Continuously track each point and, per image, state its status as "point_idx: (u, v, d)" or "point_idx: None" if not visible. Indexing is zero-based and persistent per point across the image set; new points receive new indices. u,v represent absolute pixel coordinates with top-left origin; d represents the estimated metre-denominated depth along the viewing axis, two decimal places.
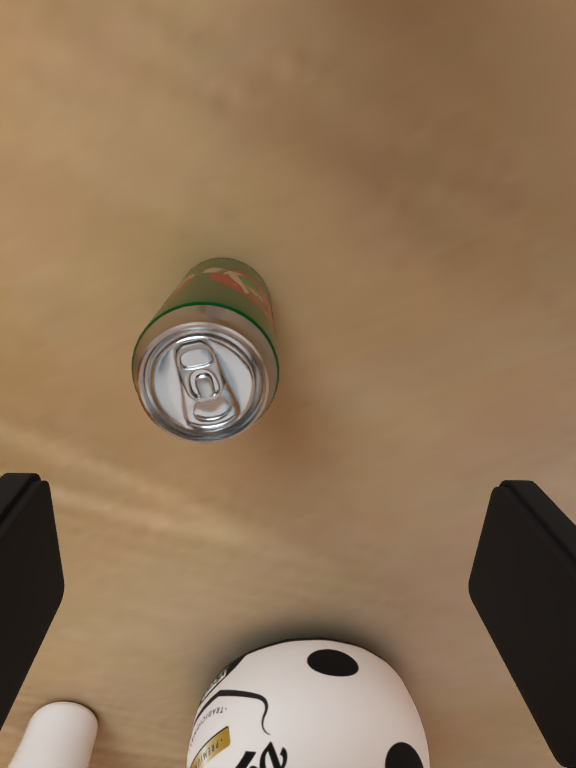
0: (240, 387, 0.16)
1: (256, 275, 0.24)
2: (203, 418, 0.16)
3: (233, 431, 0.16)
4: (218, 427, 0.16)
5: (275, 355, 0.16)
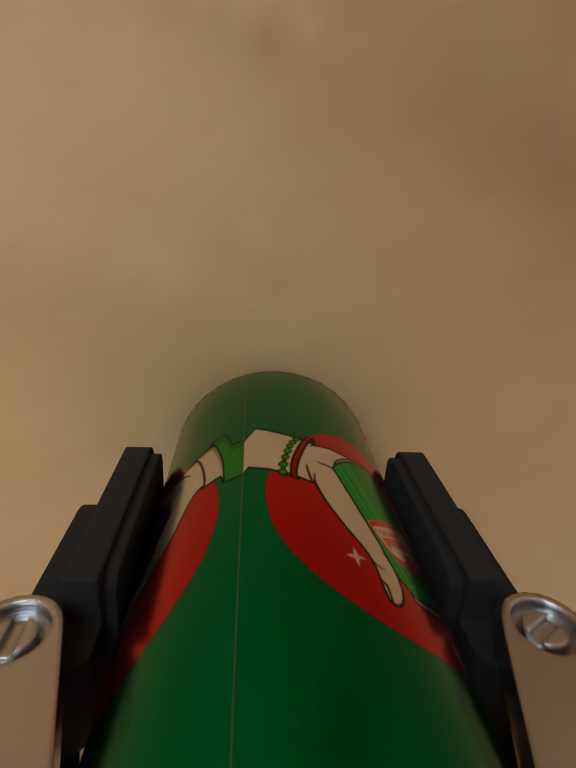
0: None
1: (345, 412, 0.12)
2: None
3: None
4: None
5: None
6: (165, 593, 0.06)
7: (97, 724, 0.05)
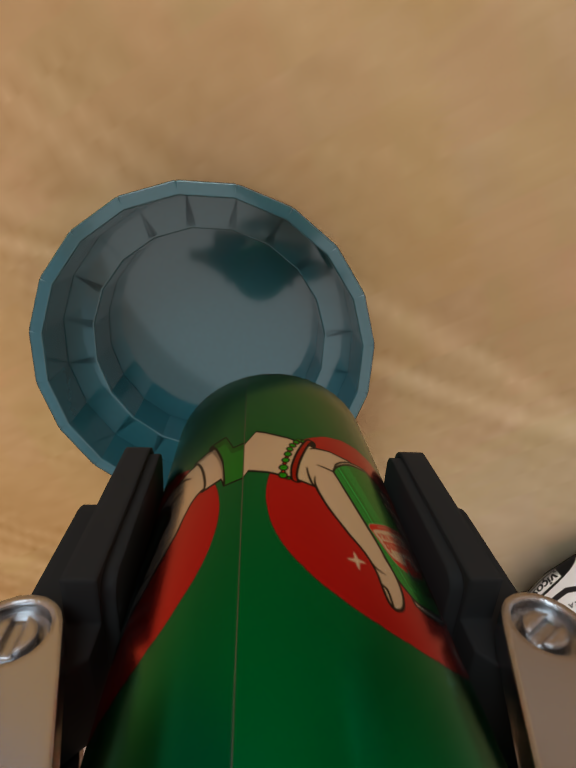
0: None
1: (345, 415, 0.12)
2: None
3: None
4: None
5: None
6: (165, 597, 0.06)
7: (97, 729, 0.05)
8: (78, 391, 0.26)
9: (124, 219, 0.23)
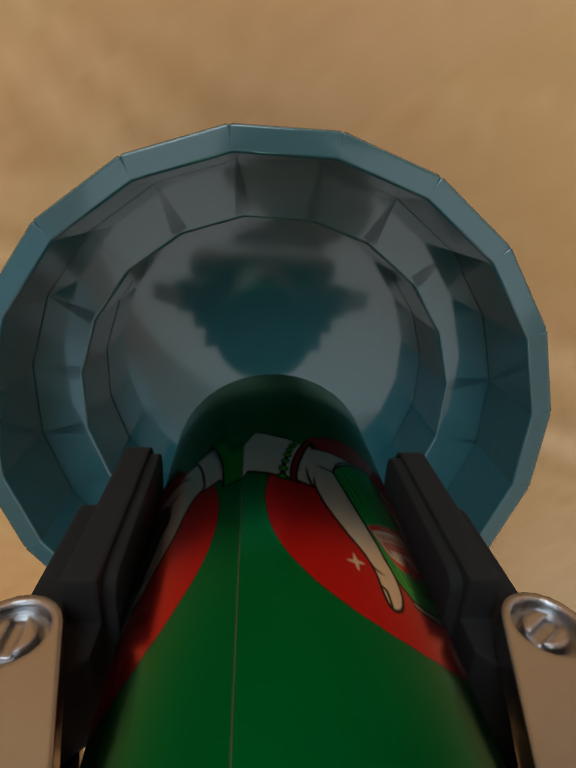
0: None
1: (345, 415, 0.12)
2: None
3: None
4: None
5: None
6: (165, 598, 0.06)
7: (97, 730, 0.05)
8: (58, 476, 0.16)
9: (131, 202, 0.13)
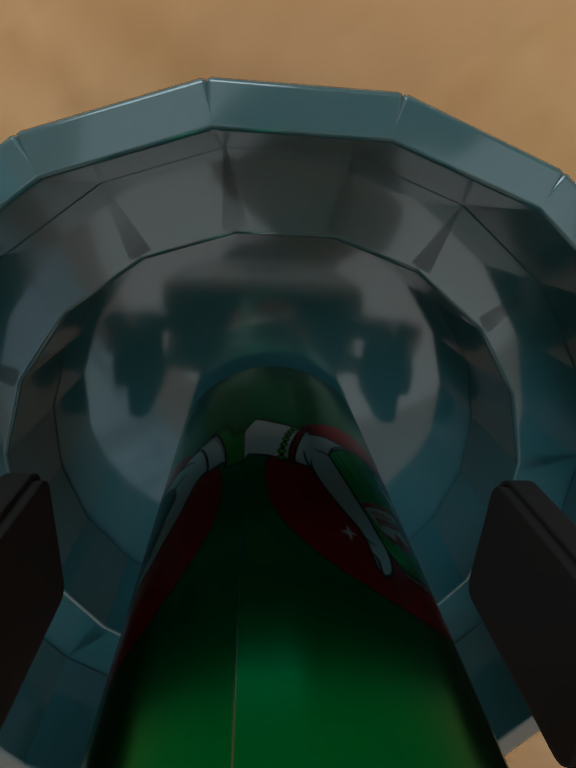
0: None
1: (341, 405, 0.12)
2: None
3: None
4: None
5: None
6: (173, 566, 0.07)
7: (112, 681, 0.06)
8: None
9: (65, 212, 0.09)
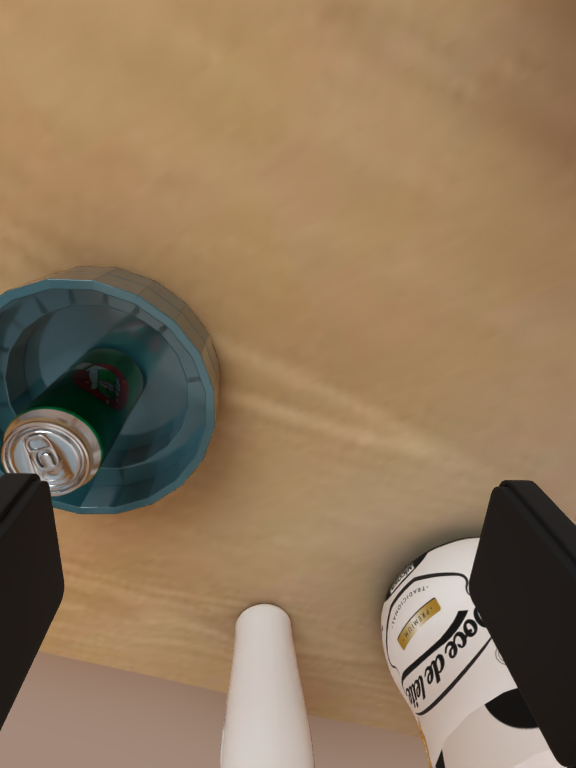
0: (69, 460, 0.24)
1: (125, 361, 0.33)
2: (50, 479, 0.25)
3: (70, 488, 0.25)
4: (59, 485, 0.25)
5: (97, 437, 0.25)
6: (44, 390, 0.28)
7: None
8: None
9: (21, 300, 0.30)
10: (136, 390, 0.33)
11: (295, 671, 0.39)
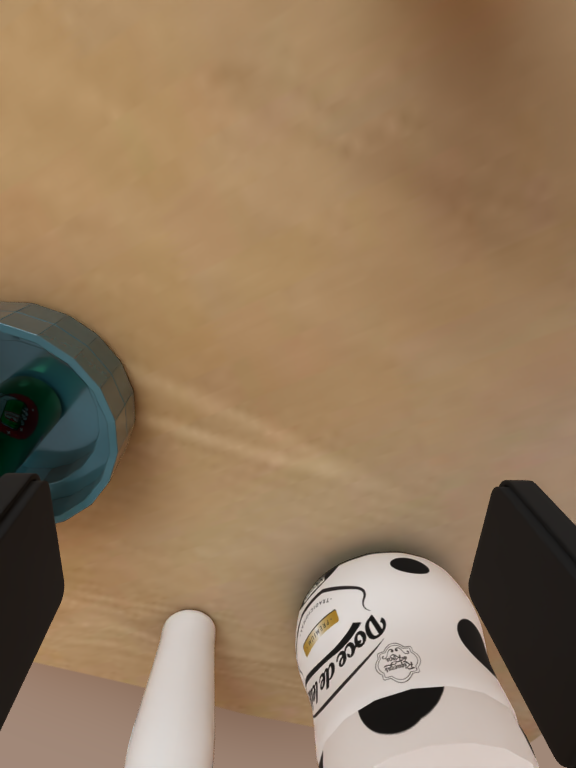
0: None
1: (41, 389, 0.36)
2: None
3: None
4: None
5: None
6: None
7: None
8: None
9: None
10: (49, 416, 0.36)
11: (208, 674, 0.42)
